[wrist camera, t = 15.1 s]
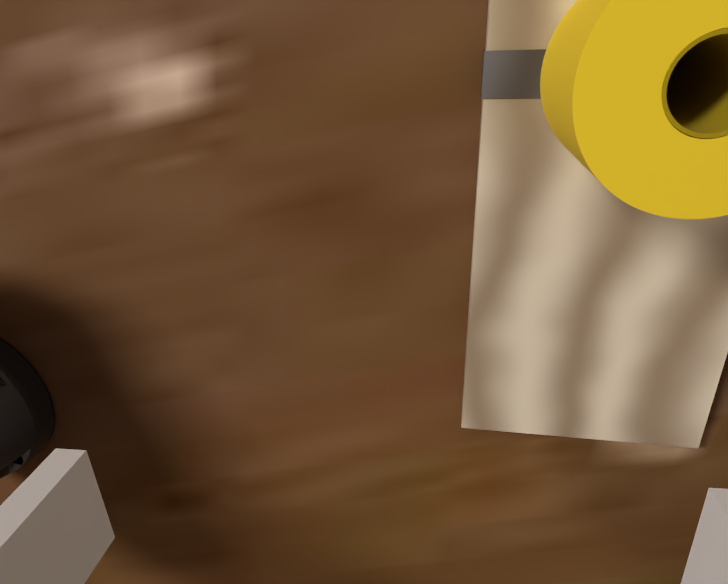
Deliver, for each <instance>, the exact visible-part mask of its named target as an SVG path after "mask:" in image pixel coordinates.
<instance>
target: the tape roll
mask: <svg viewBox="0 0 728 584" xmlns="http://www.w3.org/2000/svg"><path fill="white" fill-rule="evenodd" d="M676 64H677V69H676V75H675V78H674V80H673V83H672V84H671V86H670V88H669V89H668V90H667V85H668V81H669V78H670V75H671V73H672V71H673V69H674V67H675V66H676ZM540 94H541V102H542V107H543V111H544V114H545V117H546V120H547V122H548V124H549V126H550V128H551V130H552V132H553V133H554V135H555V136H556V137H557V139H558V140H559V141H560V142H561V143H562V145H563V146H564V147H565V148H566V149H567V150H568V151H569V152H570V153H571V154H572V155H573V156H574V157H575V158H576V159H577V160H578V161H579V162H580V163H581V164H582V165H583V166H584V167H585V168H586V169H587V170H588V171H589V172H590V173H591V174H592V175H593V176H594V177H595V178H596V179H597V180H598V181H599V182H600V183H601V184H602V185H603V186H604V187H605V188H606V189H608V190H609V191H610V192H611V193H612V194H613V195H615V196H616V197H618V198H619V199H620V200H622V201H624V202H625V203H627V204H629V205H631V206H633V207H635V208H637V209H639V210H642V211H645V212H647V213H651V214H654V215H658V216H663V217H668V218H676V219H706V218H714V217H720V216H725V215H728V0H577V1H576V2H575V3H574V4H573V5H572V6H571V7H570V9H569V10H568V11H567V12H566V14H565V15H564V16H563V18H562V19H561V21H560V22H559V24H558V26H557V27H556V29H555V31H554V33H553V35H552V37H551V39H550V41H549V44H548V46H547V49H546V52H545V55H544V59H543V63H542V69H541V77H540Z"/></svg>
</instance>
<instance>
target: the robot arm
mask: <svg viewBox="0 0 728 584" xmlns="http://www.w3.org/2000/svg"><path fill="white" fill-rule="evenodd" d="M53 427H54V413H53V408H52V404H51V400H50V397H49V395H48V393H47V390H46V388H45V386H44V385H43V383H42V381H41V380H40V378H39V377H38V375H37V374H36V372H35V371H34V370H33V368H32V367H31V366H30V365H29V364H28V363H27V362H26V360H25V359H24V358H23V357H22V356H21V355H20V354H18V353H17V352H16V351H15V350H14V349H13V348H11V347H10V346H9V345H8V344H6V343H5V342H3V341H2V340H1V339H0V478H2V477H4V476H6V475H8V474H10V473H12V472H14V471H16V470H18V469H19V468H21V467H22V466H24V465H25V464H27V463H28V462H29V461H30V460H31V459H32V458H33V457H34V456H35V455H36V454H37V453H38V452H39V451H40V450H41V449H42V448H43V447H44V446H45V445H46V444H47V443H48V441H49V439H50V437H51V435H52V432H53ZM114 538H115V535H114V532H113V529H112V526H111V523H110V520H109V517H108V514H107V511H106V508H105V505H104V502H103V499H102V496H101V493H100V490H99V487H98V484H97V481H96V478H95V475H94V472H93V469H92V466H91V463H90V460H89V457H88V454H87V451H86V450H74V449H58V448H56V449H55V450H54V451H53V452H52V453H51V454H50V455H49V456H48V457H47V458H46V459H45V460H44V461H43V462H42V463H41V464H40V465H39V466H38V467H37V468H36V469H35V470H34V471H33V473H32V474H31V475H30V476H29V477H28V478H27V479H26V480H25V481H24V482H23V483H22V484H21V485H20V486H19V487H18V488H17V489H16V490H15V491H14V492H13V493H12V494H11V495H10V496H9V497H8V498H7V500H6V501H5V502H4V503H3V504H2V505H1V506H0V584H84V583H85V582H86V580H87V579H88V577H89V576H90V574H91V573H92V571H93V570H94V568H95V567H96V565H97V564H98V562H99V561H100V559H101V558H102V556H103V555H104V553H105V552H106V550H107V549H108V547H109V546H110V544H111V543H112V541H113V540H114ZM681 584H728V489H720V488H709V489H708V492H707V496H706V499H705V503H704V506H703V509H702V513H701V516H700V520H699V523H698V526H697V530H696V533H695V537H694V540H693V544H692V547H691V550H690V554H689V557H688V561H687V564H686V567H685V571H684V574H683V578H682V581H681Z"/></svg>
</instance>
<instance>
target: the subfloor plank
mask: <svg viewBox="0 0 728 584" xmlns="http://www.w3.org/2000/svg"><path fill="white" fill-rule="evenodd" d="M576 1H577V0H489V1H488V16H487V32H486V47H485V50H483V65H482V81H481V98H482V108H481V124H480V139H479V155H478V170H477V185H476V201H475V216H474V231H473V247H472V262H471V277H470V293H469V308H468V324H467V339H466V354H465V370H464V385H463V400H462V428H471V429H483V430H494V431H506V432H517V433H529V434H540V435H551V436H563V437H574V438H586V439H597V440H609V441H620V442H631V443H643V444H654V445H666V446H677V447H689V448H699V445H700V442H701V438H702V435H703V432H704V428H705V425H706V422H707V419H708V415H709V412H710V409H711V405H712V402H713V399H714V396H715V392H716V389H717V386H718V383H719V379H720V376H721V373H722V369H723V366H724V363H725V360H726V356H727V353H728V215H725V216H720V217H714V218H706V219H676V218H668V217H663V216H658V215H654V214H651V213H647V212H645V211H642V210H639V209H637V208H635V207H633V206H631V205H629V204H627V203H625V202H624V201H622V200H620V199H619V198H618V197H616V196H615V195H613V194H612V193H611V192H610V191H609V190H608V189H606V188H605V187H604V186H603V185H602V184H601V183H600V182H599V181H598V180H597V179H596V178H595V177H594V176H593V175H592V174H591V173H590V172H589V171H588V170H587V169H586V168H585V167H584V166H583V165H582V164H581V163H580V162H579V161H578V160H577V159H576V158H575V157H574V156H573V155H572V154H571V153H570V152H569V151H568V150H567V149H566V148H565V147H564V146H563V145H562V143H561V142H560V141H559V140H558V139H557V137H556V136H555V135H554V133H553V132H552V130H551V128H550V126H549V124H548V122H547V120H546V117H545V114H544V111H543V107H542V102H541V94H540V77H541V69H542V63H543V59H544V55H545V52H546V49H547V46H548V44H549V41H550V39H551V37H552V35H553V33H554V31H555V29H556V27H557V26H558V24H559V22H560V21H561V19H562V18H563V16H564V15H565V14H566V12H567V11H568V10H569V9H570V7H571V6H572V5H573V4H574V3H575V2H576ZM676 69H677V64H676V66H675V67H674V69H673V71H672V73H671V75H670V78H669V81H668V85H667V90H668V89H669V88H670V86H671V84H672V83H673V80H674V78H675V75H676Z"/></svg>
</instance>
